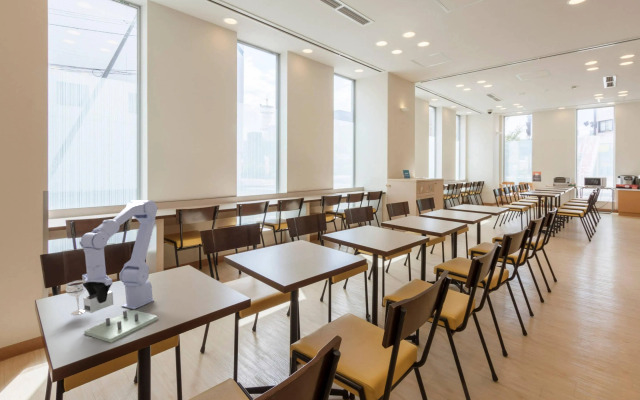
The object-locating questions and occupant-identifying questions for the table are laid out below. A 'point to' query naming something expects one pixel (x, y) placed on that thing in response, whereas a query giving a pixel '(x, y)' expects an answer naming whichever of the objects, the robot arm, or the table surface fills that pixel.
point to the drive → (97, 302)
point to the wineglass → (76, 292)
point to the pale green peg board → (120, 325)
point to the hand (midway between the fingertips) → (98, 301)
